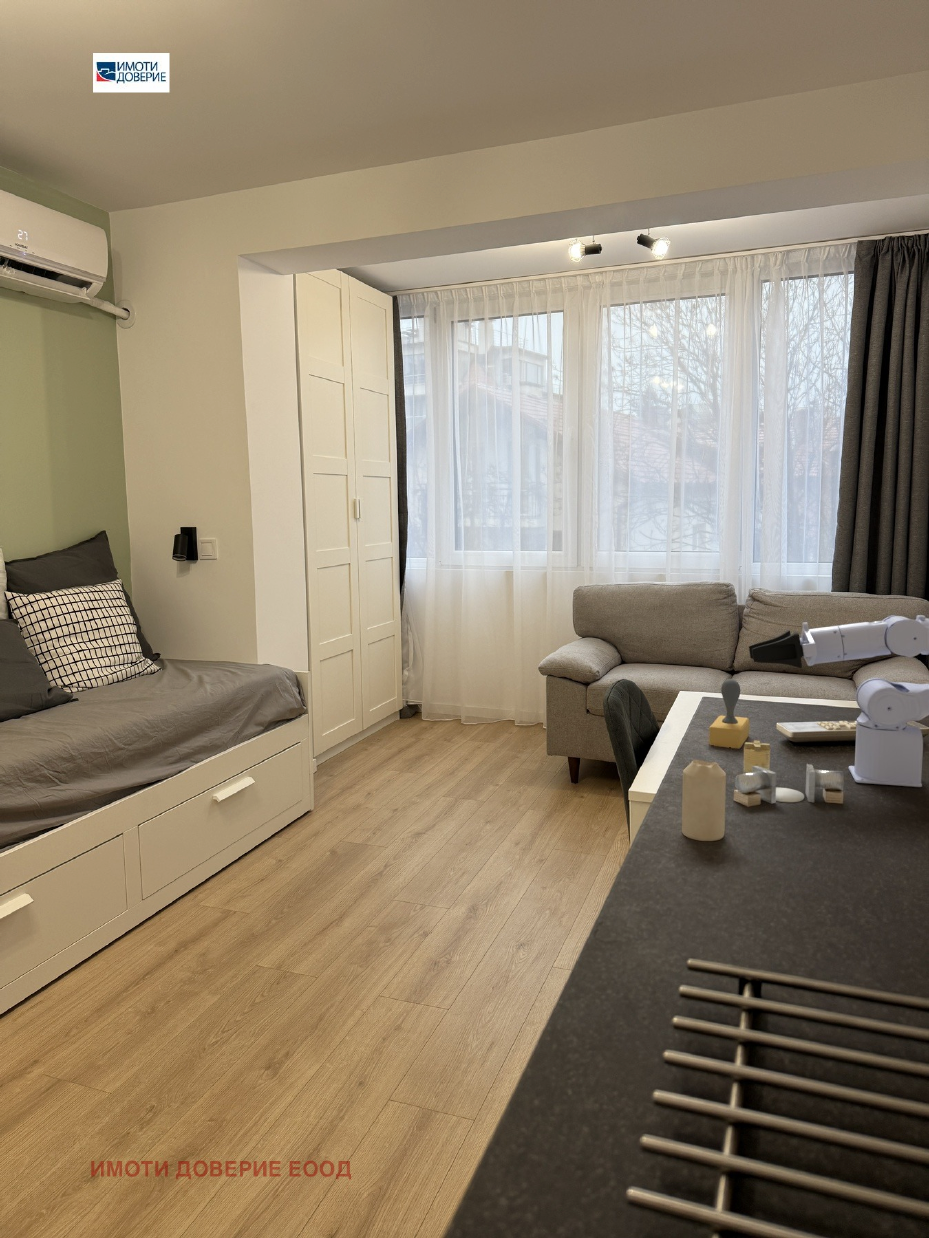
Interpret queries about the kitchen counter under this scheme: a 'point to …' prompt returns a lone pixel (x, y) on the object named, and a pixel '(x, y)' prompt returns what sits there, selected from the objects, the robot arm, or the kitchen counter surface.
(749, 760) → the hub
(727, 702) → the rubber stamp
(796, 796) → the seat
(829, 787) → the shaft
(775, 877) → the kitchen counter surface
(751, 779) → the shaft
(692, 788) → the candle
